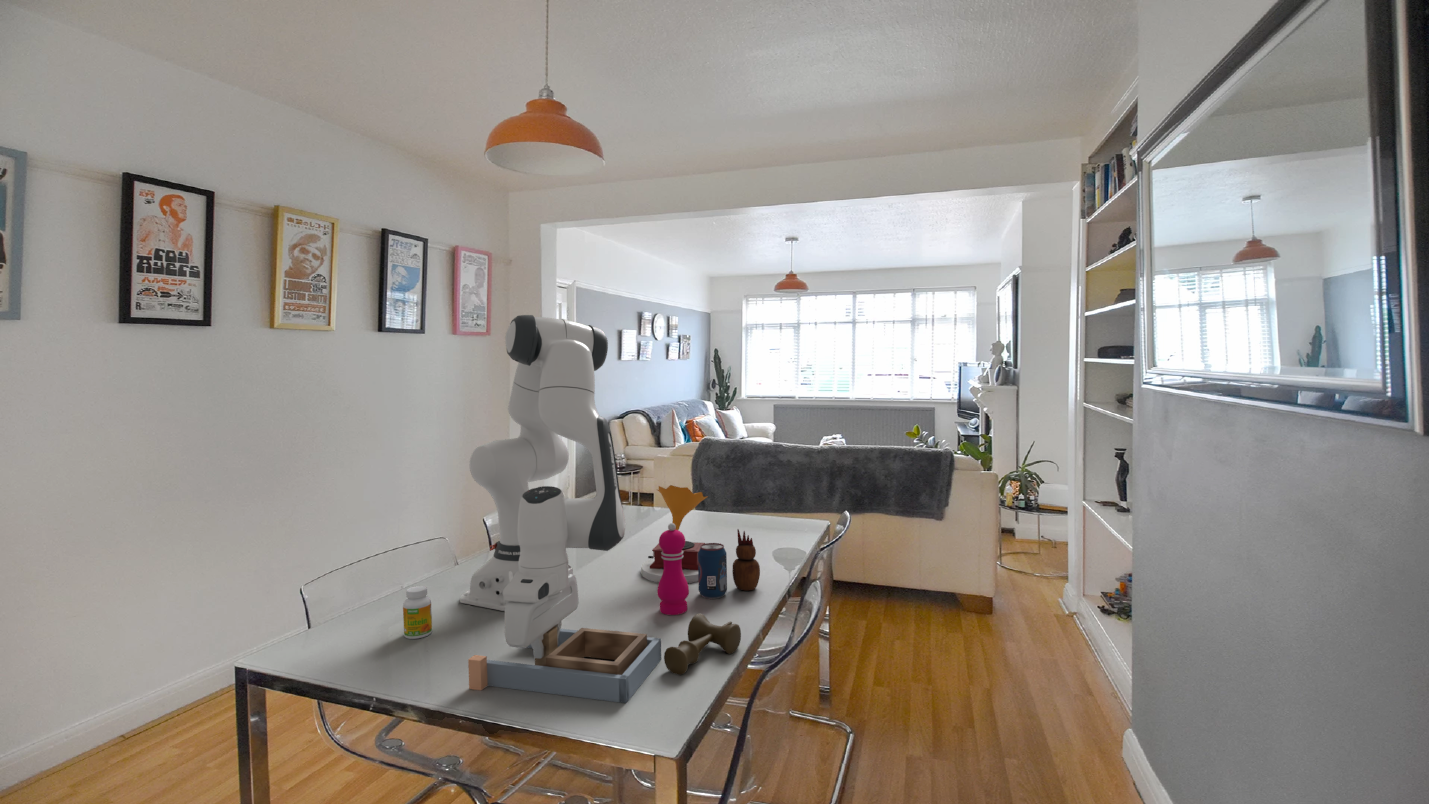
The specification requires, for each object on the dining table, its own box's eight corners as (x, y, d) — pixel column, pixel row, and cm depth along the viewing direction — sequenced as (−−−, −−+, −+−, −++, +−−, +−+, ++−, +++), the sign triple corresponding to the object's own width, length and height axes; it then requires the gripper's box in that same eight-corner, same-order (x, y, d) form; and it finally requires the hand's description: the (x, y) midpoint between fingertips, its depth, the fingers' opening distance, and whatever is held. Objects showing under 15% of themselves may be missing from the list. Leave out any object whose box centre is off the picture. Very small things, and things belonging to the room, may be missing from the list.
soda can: (700, 589, 161) (699, 542, 161) (728, 590, 160) (727, 542, 160) (697, 599, 154) (696, 549, 154) (726, 599, 154) (725, 549, 153)
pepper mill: (685, 617, 143) (683, 527, 142) (653, 615, 145) (651, 526, 144) (692, 605, 150) (691, 520, 149) (662, 603, 152) (660, 519, 151)
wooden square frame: (519, 682, 113) (518, 643, 113) (557, 650, 126) (556, 615, 126) (618, 694, 108) (617, 653, 108) (647, 660, 121) (646, 623, 121)
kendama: (652, 671, 118) (711, 631, 135) (695, 685, 113) (752, 642, 130) (651, 640, 118) (711, 603, 135) (695, 652, 113) (751, 613, 129)
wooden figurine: (729, 590, 160) (728, 530, 159) (737, 583, 165) (736, 525, 165) (755, 594, 157) (754, 532, 157) (762, 586, 163) (762, 527, 162)
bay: (469, 688, 112) (468, 659, 111) (532, 641, 131) (531, 616, 131) (621, 708, 104) (621, 677, 104) (664, 655, 124) (664, 628, 124)
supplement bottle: (404, 641, 132) (402, 594, 132) (403, 632, 137) (401, 587, 137) (433, 636, 135) (431, 590, 134) (431, 627, 140) (429, 583, 139)
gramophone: (709, 585, 165) (707, 487, 163) (631, 582, 168) (629, 486, 167) (722, 562, 185) (720, 475, 184) (652, 559, 188) (650, 474, 187)
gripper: (556, 560, 129) (558, 628, 130) (496, 594, 109) (499, 674, 110) (585, 562, 128) (587, 631, 128) (529, 597, 108) (532, 678, 108)
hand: (546, 651), depth 119 cm, fingers closed on wooden square frame, 3 cm apart
